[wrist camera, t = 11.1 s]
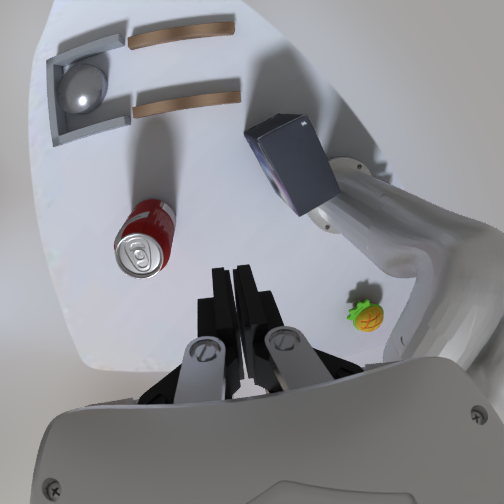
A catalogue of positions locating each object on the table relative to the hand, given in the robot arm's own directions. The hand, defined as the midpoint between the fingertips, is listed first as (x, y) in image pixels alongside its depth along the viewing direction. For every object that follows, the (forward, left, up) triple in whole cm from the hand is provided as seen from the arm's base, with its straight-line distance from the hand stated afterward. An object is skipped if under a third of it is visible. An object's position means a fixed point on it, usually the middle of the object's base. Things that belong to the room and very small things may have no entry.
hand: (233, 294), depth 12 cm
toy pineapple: (-27, +30, -29) cm, 50 cm away
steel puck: (+16, -16, -29) cm, 37 cm away
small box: (-10, -2, -29) cm, 30 cm away
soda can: (+9, +5, -29) cm, 30 cm away
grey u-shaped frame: (+15, -16, -28) cm, 36 cm away
